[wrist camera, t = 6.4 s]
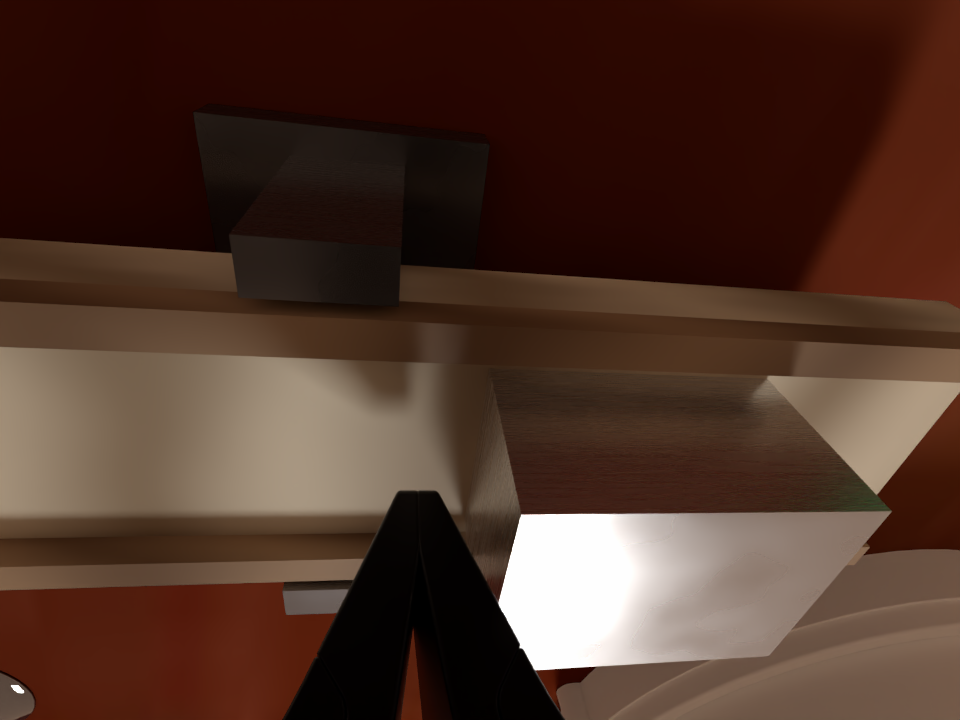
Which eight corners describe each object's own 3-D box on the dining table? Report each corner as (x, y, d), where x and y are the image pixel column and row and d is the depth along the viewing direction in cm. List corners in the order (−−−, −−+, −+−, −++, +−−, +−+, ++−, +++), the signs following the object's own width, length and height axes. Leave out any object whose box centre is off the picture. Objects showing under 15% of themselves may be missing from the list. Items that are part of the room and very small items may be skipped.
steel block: (464, 519, 13) (481, 673, 10) (489, 368, 10) (521, 514, 7) (692, 517, 14) (768, 656, 11) (767, 378, 11) (891, 511, 8)
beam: (-62, 481, 13) (-171, 594, 11) (-245, 201, 9) (-489, 276, 7) (789, 481, 17) (855, 565, 14) (917, 285, 13) (1037, 353, 11)
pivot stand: (263, 467, 17) (211, 631, 13) (209, 103, 11) (72, 174, 7) (444, 468, 18) (454, 622, 14) (484, 134, 12) (527, 215, 8)
